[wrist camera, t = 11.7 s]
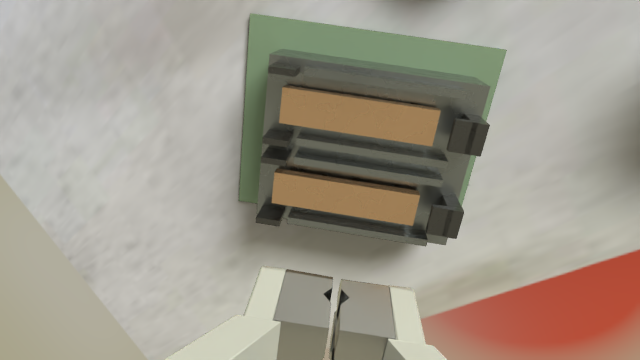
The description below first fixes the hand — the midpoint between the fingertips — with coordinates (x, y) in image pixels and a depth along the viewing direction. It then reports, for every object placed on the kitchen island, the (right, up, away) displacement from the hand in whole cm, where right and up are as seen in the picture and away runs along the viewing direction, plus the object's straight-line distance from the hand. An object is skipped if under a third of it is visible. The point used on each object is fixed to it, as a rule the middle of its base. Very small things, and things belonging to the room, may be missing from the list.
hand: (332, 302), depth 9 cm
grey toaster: (+3, +7, +31) cm, 32 cm away
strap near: (+3, +8, +24) cm, 25 cm away
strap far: (+2, +1, +27) cm, 27 cm away
